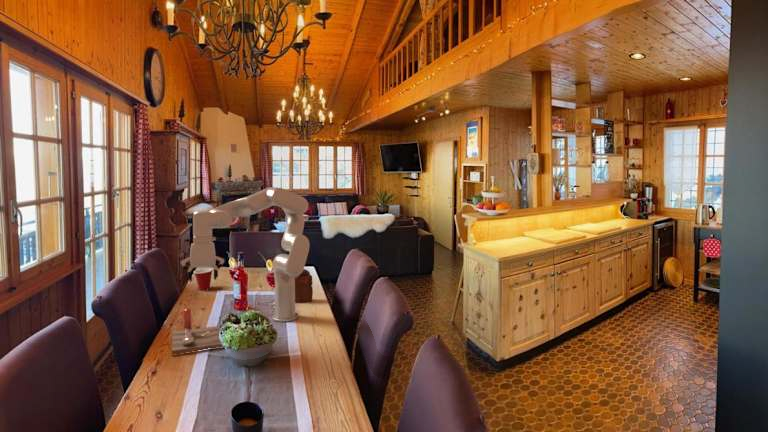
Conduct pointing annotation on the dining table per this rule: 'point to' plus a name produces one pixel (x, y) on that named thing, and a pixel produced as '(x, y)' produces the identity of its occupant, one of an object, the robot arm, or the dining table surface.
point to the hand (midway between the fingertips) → (203, 279)
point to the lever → (187, 327)
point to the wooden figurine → (303, 287)
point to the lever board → (196, 340)
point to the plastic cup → (203, 278)
